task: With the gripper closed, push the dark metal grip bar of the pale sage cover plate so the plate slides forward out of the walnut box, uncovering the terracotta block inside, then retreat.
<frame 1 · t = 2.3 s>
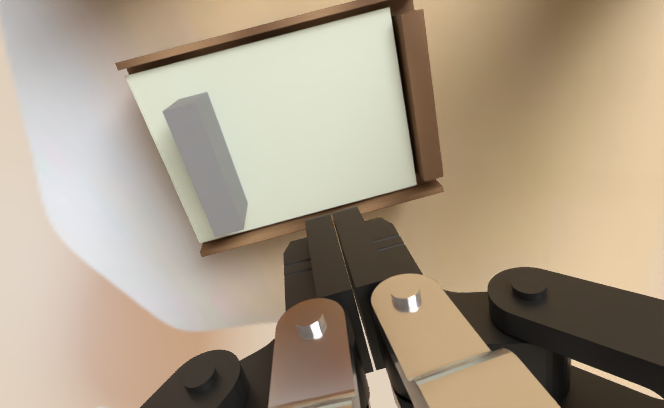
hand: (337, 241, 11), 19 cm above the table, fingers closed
walnut box: (294, 113, 28), on the table
cover plate: (286, 142, 22), point 7 cm above the table, slide at 0.0 cm
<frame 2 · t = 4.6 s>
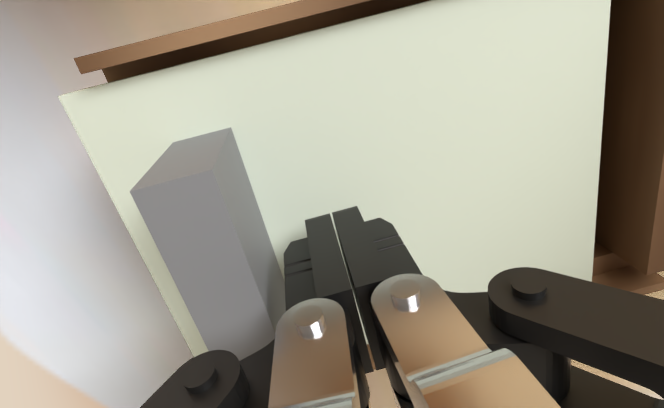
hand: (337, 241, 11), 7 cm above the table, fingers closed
walnut box: (386, 144, 17), on the table
cover plate: (389, 229, 11), point 7 cm above the table, slide at 1.0 cm, touching gripper
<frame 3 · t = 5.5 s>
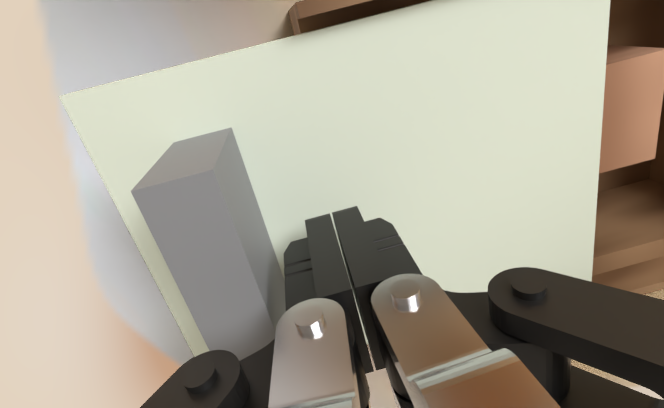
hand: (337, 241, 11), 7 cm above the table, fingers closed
walnut box: (500, 113, 18), on the table
cover plate: (389, 229, 11), point 7 cm above the table, slide at 6.3 cm, touching gripper
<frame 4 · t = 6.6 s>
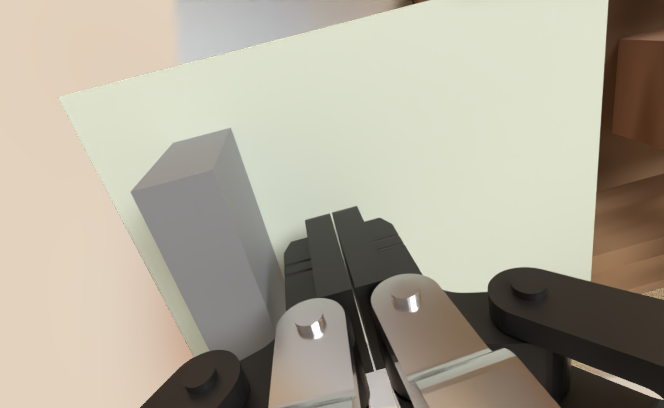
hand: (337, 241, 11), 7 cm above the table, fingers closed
walnut box: (601, 86, 18), on the table
cover plate: (389, 228, 11), point 7 cm above the table, slide at 11.0 cm, touching gripper
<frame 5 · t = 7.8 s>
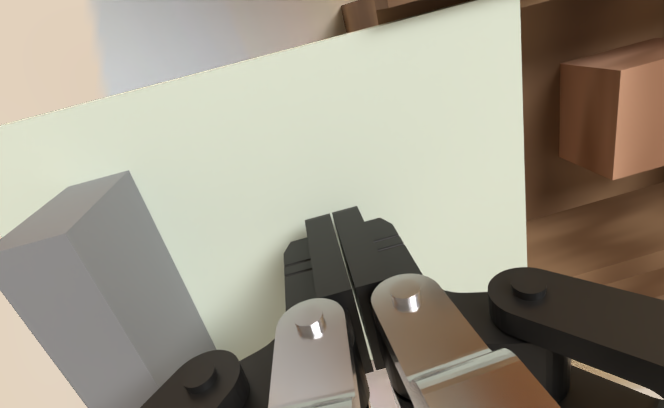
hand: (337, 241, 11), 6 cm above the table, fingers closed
walnut box: (547, 109, 17), on the table
cover plate: (297, 273, 11), point 7 cm above the table, slide at 11.0 cm
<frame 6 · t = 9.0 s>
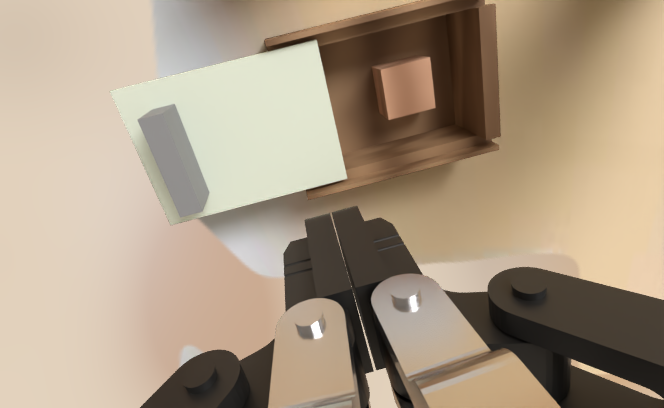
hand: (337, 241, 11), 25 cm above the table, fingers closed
walnut box: (373, 89, 35), on the table
cover plate: (237, 143, 28), point 7 cm above the table, slide at 11.0 cm
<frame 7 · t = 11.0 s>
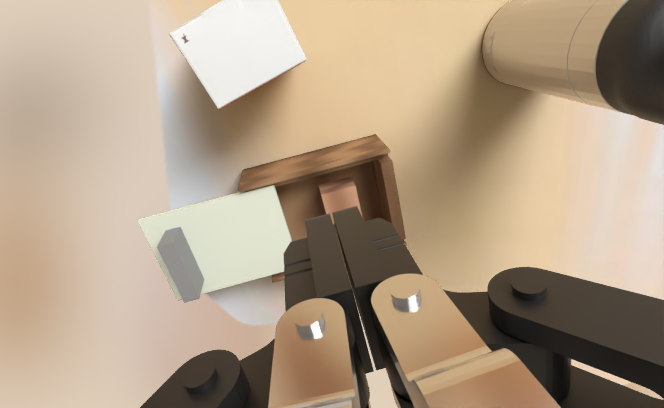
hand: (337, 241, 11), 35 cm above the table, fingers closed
walnut box: (321, 197, 49), on the table
cover plate: (221, 252, 42), point 7 cm above the table, slide at 11.0 cm
small box: (249, 41, 41), on the table
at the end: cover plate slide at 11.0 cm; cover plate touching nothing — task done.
